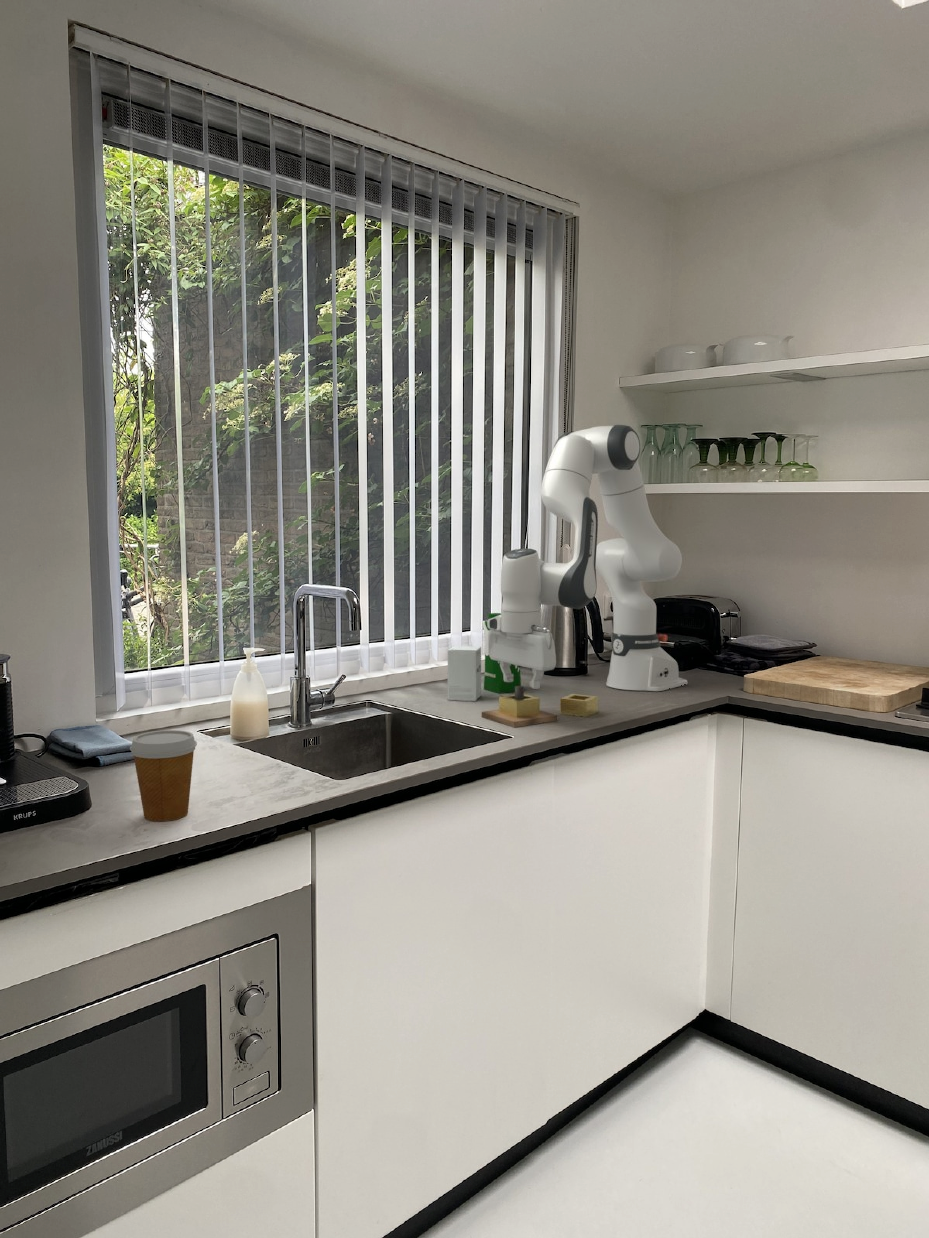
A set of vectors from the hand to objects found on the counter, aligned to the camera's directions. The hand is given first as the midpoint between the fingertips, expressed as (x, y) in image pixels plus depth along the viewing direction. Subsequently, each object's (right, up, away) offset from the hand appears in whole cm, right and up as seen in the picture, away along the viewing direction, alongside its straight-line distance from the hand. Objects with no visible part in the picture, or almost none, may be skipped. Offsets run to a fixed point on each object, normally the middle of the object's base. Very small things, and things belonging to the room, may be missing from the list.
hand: (521, 685), depth 201 cm
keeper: (-1, -8, +1) cm, 8 cm away
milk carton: (-3, -4, +34) cm, 34 cm away
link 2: (+14, -7, +6) cm, 17 cm away
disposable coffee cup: (-58, -15, -64) cm, 88 cm away
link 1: (0, -6, 0) cm, 6 cm away
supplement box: (-13, -5, +24) cm, 27 cm away
